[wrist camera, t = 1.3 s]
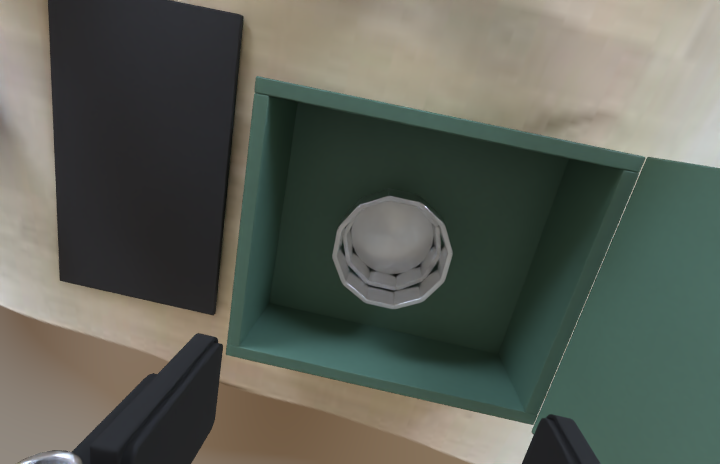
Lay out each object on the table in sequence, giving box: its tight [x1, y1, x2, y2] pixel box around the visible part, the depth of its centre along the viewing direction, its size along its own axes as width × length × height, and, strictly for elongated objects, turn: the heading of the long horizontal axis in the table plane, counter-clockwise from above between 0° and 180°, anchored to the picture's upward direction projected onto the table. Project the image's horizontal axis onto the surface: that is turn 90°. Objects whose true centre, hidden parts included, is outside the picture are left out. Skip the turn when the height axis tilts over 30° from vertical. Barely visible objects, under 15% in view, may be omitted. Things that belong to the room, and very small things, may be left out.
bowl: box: [332, 189, 453, 309], centre depth 24 cm, size 7×7×4 cm
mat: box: [48, 0, 243, 315], centre depth 27 cm, size 22×13×1 cm, turn 169°
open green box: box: [226, 76, 645, 425], centre depth 24 cm, size 20×17×7 cm
